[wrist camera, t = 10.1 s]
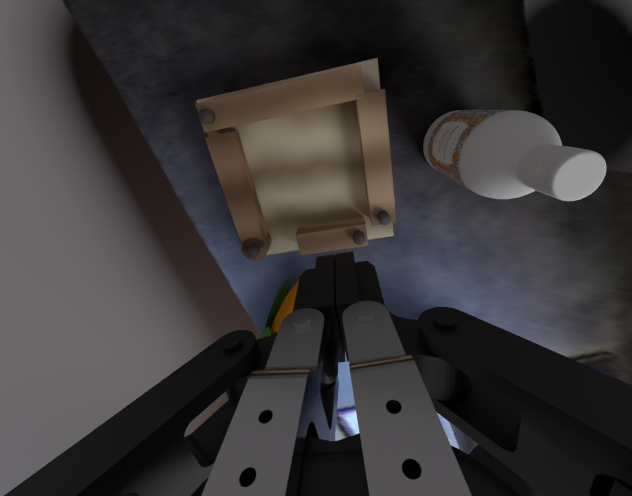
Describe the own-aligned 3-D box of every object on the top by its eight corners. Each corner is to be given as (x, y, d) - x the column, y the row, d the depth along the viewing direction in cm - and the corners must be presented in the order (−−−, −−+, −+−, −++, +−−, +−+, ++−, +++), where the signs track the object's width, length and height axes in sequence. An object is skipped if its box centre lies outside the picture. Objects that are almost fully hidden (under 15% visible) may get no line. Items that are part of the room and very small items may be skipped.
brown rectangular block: (274, 248, 40) (268, 263, 36) (252, 252, 40) (243, 267, 36) (239, 130, 33) (227, 132, 30) (213, 136, 34) (198, 139, 30)
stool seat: (390, 230, 40) (399, 249, 34) (251, 251, 42) (239, 272, 37) (375, 60, 32) (383, 50, 26) (203, 100, 34) (178, 99, 29)
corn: (245, 391, 44) (276, 285, 36) (254, 353, 51) (282, 256, 42) (293, 401, 45) (334, 299, 37) (295, 361, 52) (331, 269, 43)
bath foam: (436, 102, 33) (559, 93, 15) (493, 119, 33) (681, 129, 15) (412, 163, 36) (492, 217, 18) (465, 178, 36) (595, 245, 18)
